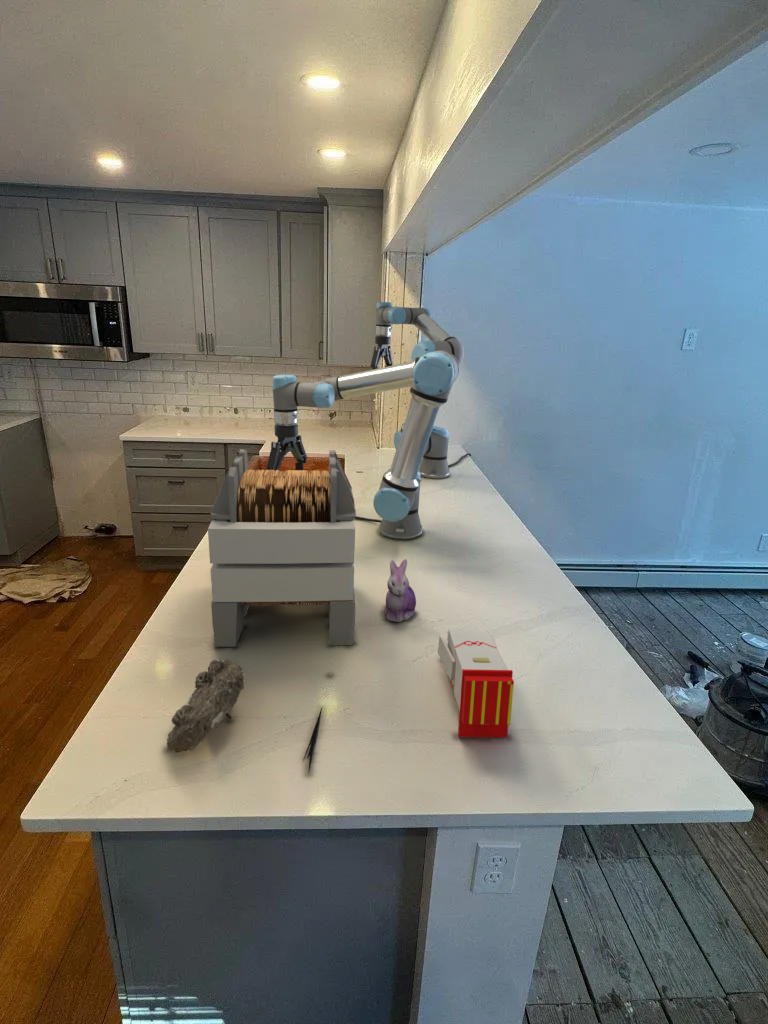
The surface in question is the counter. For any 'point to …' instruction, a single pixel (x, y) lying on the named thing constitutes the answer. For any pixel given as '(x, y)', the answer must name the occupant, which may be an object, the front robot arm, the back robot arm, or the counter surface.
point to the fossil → (206, 705)
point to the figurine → (399, 594)
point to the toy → (478, 682)
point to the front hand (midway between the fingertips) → (288, 486)
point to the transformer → (282, 546)
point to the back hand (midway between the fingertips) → (381, 380)
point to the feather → (313, 740)
